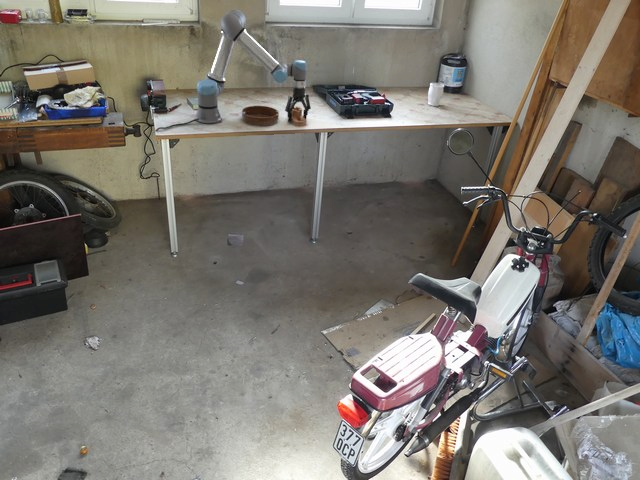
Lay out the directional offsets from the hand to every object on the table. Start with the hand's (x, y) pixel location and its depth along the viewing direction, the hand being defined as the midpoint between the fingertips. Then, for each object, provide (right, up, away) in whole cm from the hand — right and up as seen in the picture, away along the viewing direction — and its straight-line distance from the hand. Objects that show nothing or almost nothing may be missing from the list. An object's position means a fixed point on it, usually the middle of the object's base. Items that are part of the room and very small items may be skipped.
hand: (297, 121), depth 340 cm
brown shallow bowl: (-24, 0, -3) cm, 24 cm away
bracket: (0, 0, 0) cm, 0 cm away
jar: (+99, +25, +55) cm, 116 cm away
